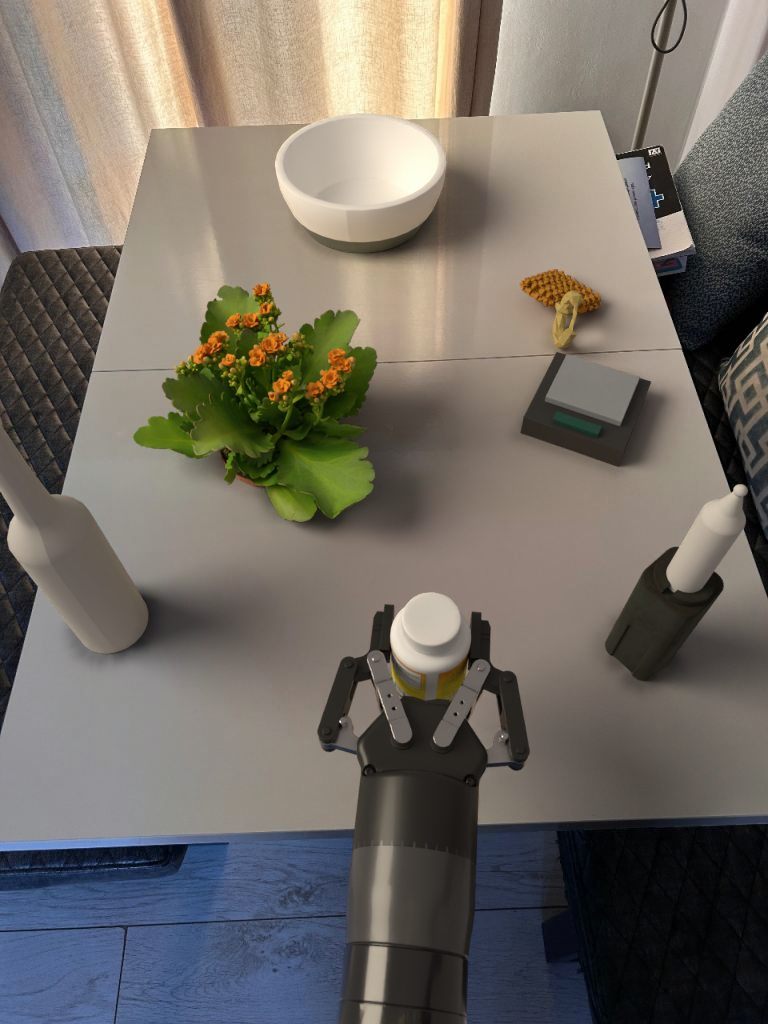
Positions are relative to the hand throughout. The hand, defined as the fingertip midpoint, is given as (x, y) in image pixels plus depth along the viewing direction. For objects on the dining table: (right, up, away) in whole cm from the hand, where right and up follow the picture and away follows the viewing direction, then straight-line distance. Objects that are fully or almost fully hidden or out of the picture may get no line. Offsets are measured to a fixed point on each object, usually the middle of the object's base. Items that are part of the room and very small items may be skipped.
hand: (432, 613), depth 55 cm
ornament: (+18, +31, +39) cm, 54 cm away
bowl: (-6, +49, +52) cm, 71 cm away
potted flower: (-17, +14, +28) cm, 36 cm away
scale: (+19, +18, +30) cm, 40 cm away
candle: (+20, -5, +15) cm, 25 cm away
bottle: (-29, -3, +17) cm, 34 cm away
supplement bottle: (0, -6, +4) cm, 7 cm away
